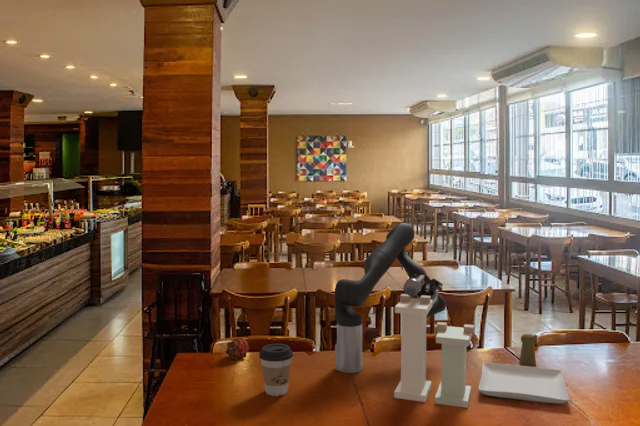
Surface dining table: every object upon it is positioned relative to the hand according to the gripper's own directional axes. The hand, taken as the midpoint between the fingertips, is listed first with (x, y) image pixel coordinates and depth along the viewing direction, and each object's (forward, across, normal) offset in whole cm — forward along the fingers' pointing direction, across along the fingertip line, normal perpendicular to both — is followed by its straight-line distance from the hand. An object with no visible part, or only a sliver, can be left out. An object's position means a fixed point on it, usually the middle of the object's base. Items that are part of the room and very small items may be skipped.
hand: (420, 277), depth 194 cm
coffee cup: (+4, -43, +45) cm, 62 cm away
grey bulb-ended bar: (+4, 0, +6) cm, 7 cm away
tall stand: (-9, 0, +37) cm, 38 cm away
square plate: (-23, +34, +30) cm, 51 cm away
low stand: (-9, +13, +37) cm, 40 cm away
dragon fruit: (-19, -71, +32) cm, 80 cm away
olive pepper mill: (-45, +36, +16) cm, 60 cm away
